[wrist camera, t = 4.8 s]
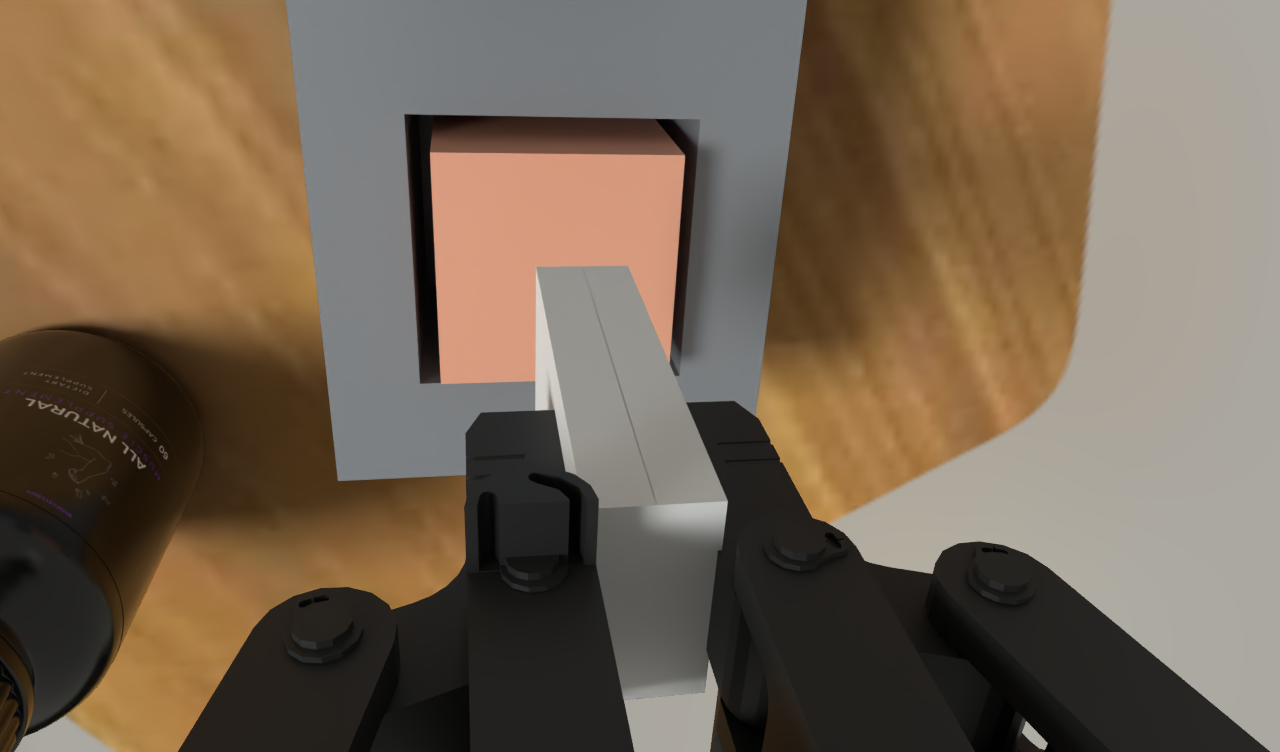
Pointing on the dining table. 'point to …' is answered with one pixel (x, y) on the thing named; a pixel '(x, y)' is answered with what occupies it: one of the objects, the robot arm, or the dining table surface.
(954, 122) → the dining table surface
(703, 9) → the console
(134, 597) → the supplement bottle
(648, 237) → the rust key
